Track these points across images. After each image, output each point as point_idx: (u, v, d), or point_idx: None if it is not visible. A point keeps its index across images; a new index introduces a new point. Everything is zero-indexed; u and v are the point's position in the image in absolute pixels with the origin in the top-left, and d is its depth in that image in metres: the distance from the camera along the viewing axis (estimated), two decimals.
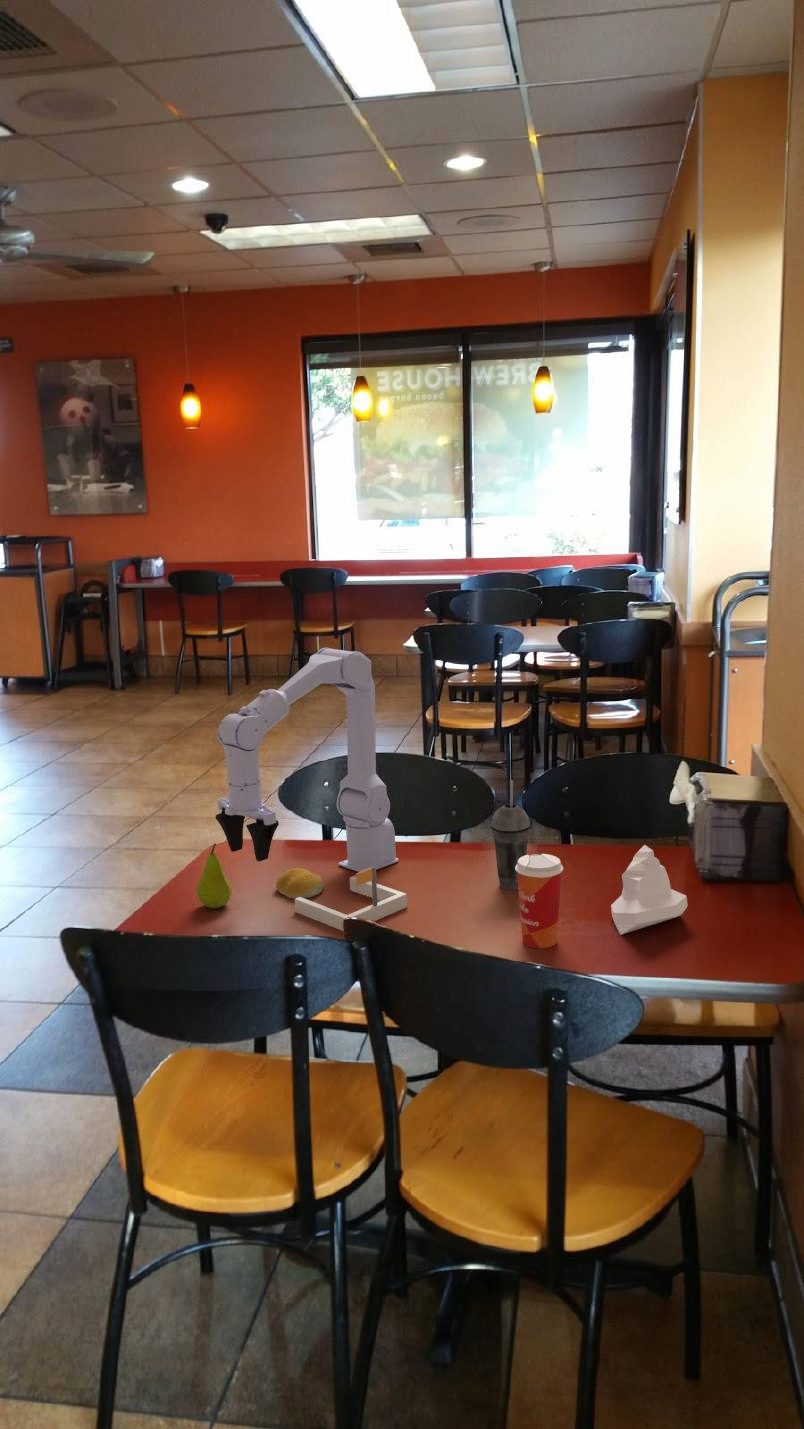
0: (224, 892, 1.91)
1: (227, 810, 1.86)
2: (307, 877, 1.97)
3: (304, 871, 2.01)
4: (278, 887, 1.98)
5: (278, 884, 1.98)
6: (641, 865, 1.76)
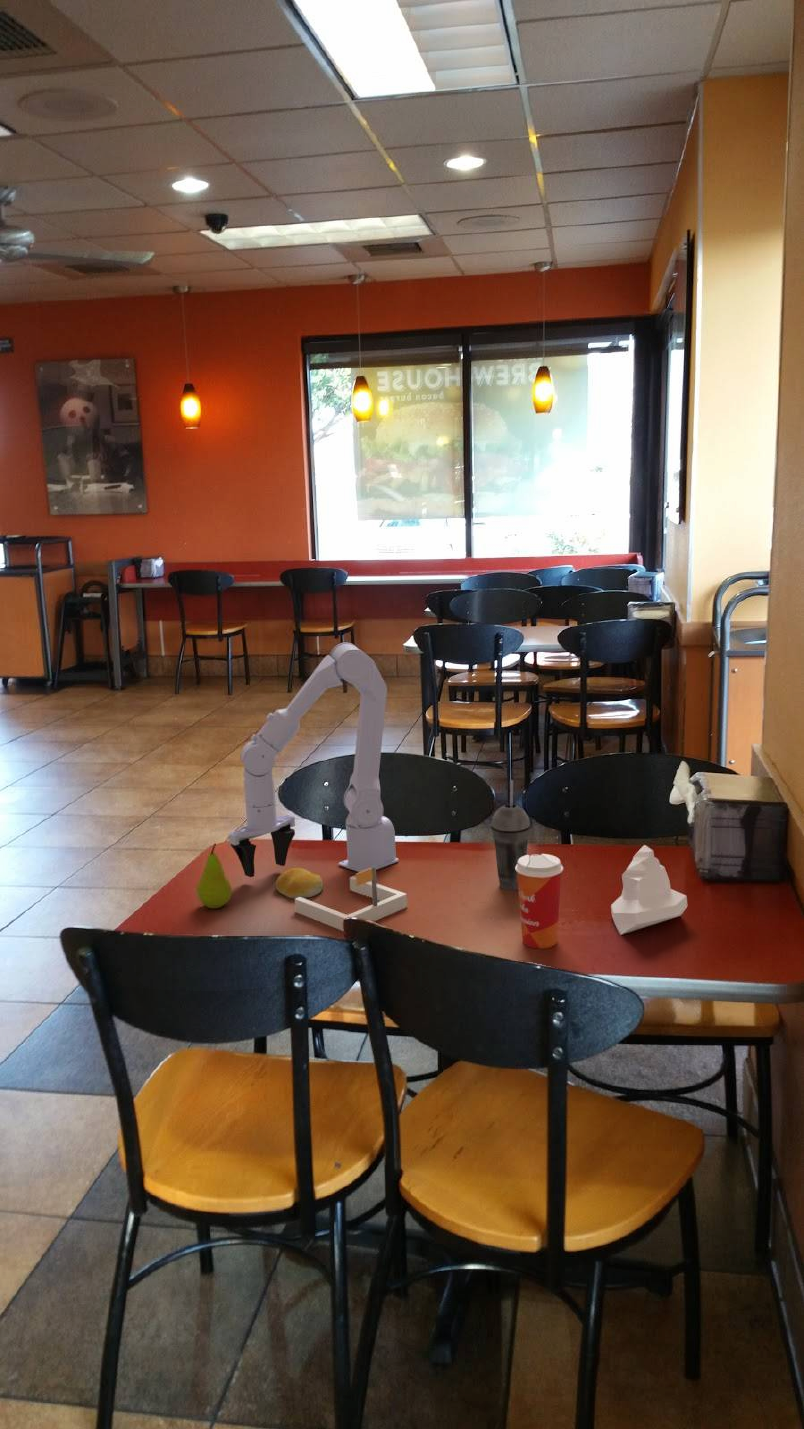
0: (224, 892, 1.91)
1: None
2: (306, 877, 1.97)
3: (303, 871, 2.01)
4: (278, 887, 1.98)
5: (278, 884, 1.98)
6: (641, 865, 1.76)
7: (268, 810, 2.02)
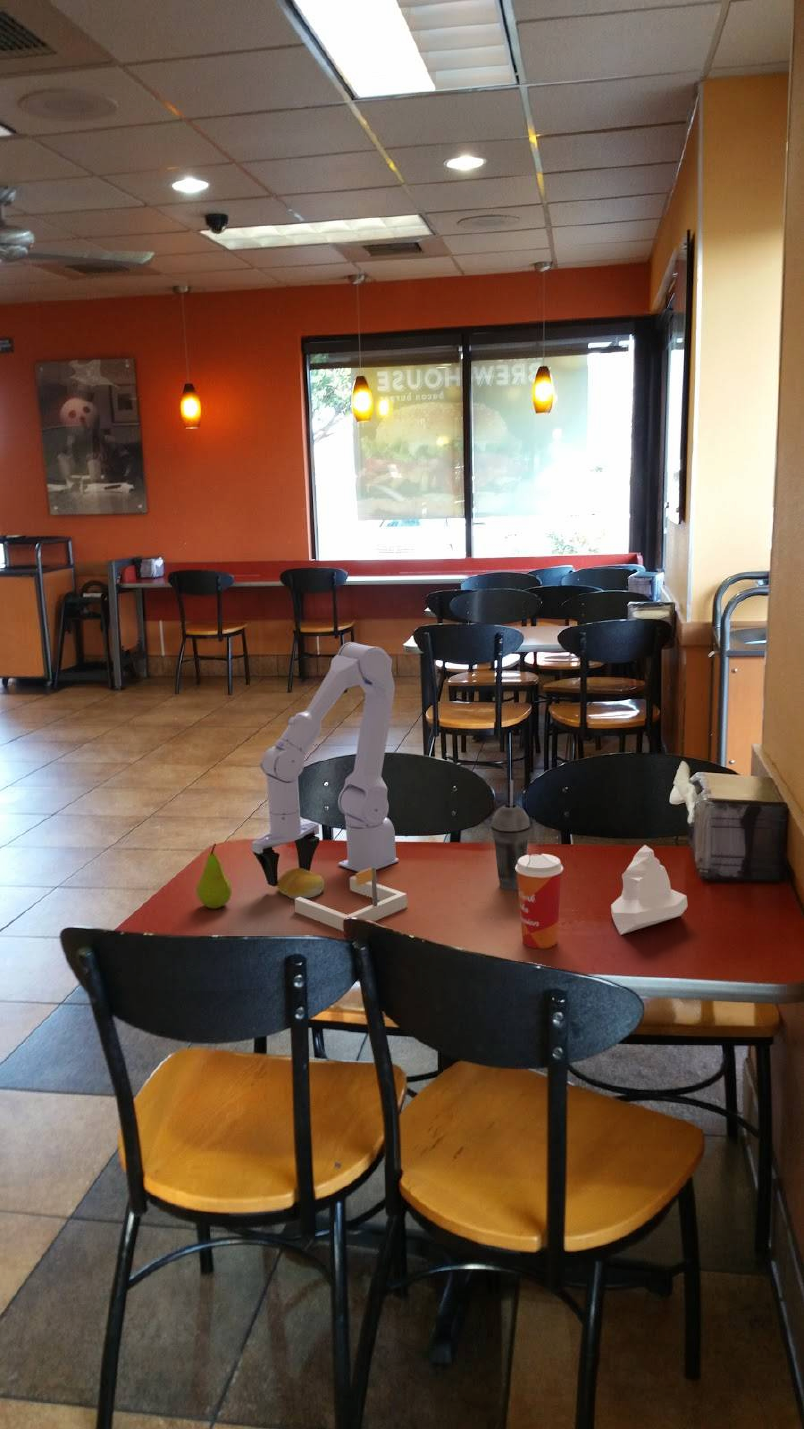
0: (224, 892, 1.91)
1: None
2: (308, 877, 1.97)
3: (305, 871, 2.00)
4: (279, 887, 1.98)
5: (279, 884, 1.98)
6: (641, 865, 1.76)
7: (292, 817, 1.97)
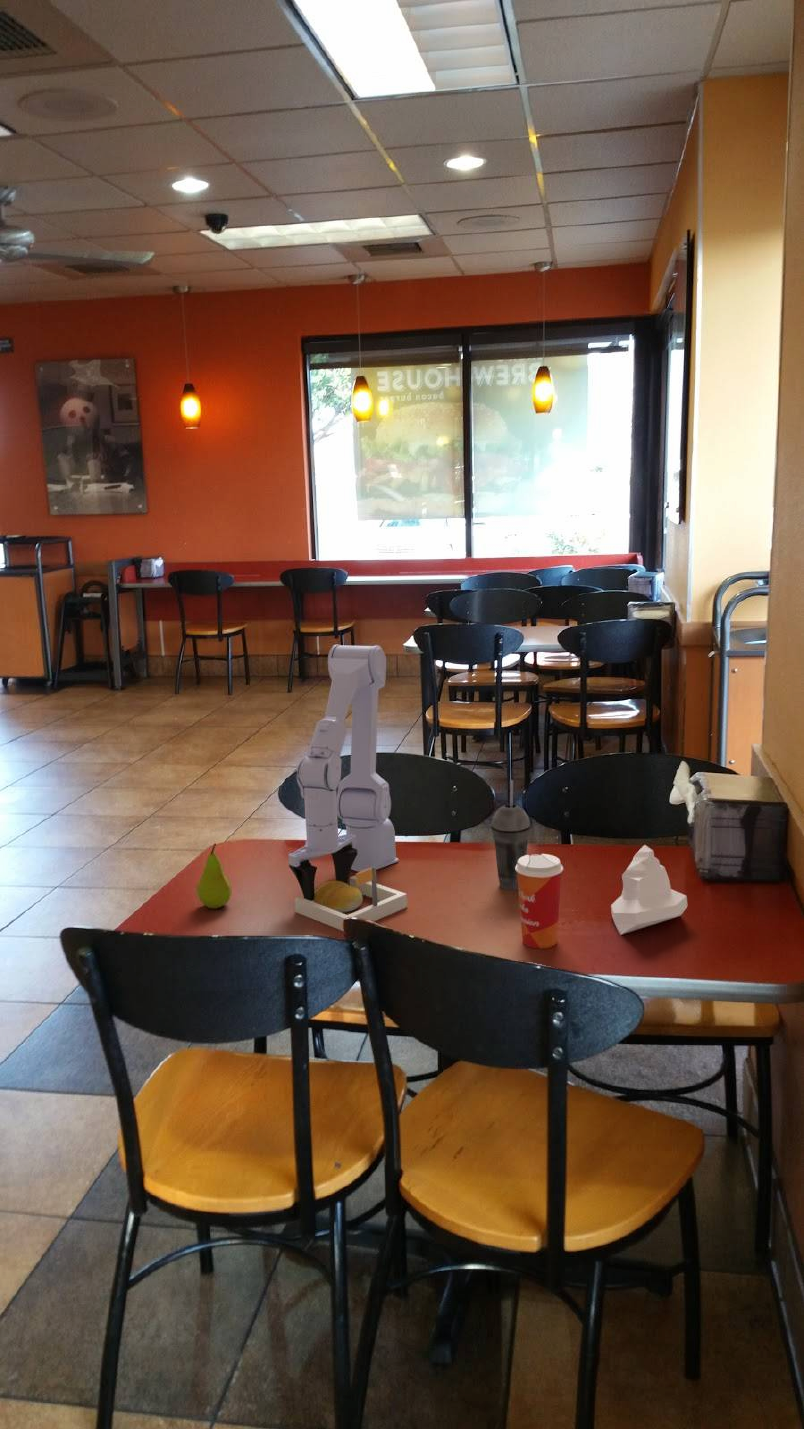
0: (224, 892, 1.91)
1: None
2: (346, 890, 1.89)
3: (342, 884, 1.93)
4: (316, 900, 1.90)
5: (316, 897, 1.91)
6: (641, 865, 1.76)
7: (330, 829, 1.89)
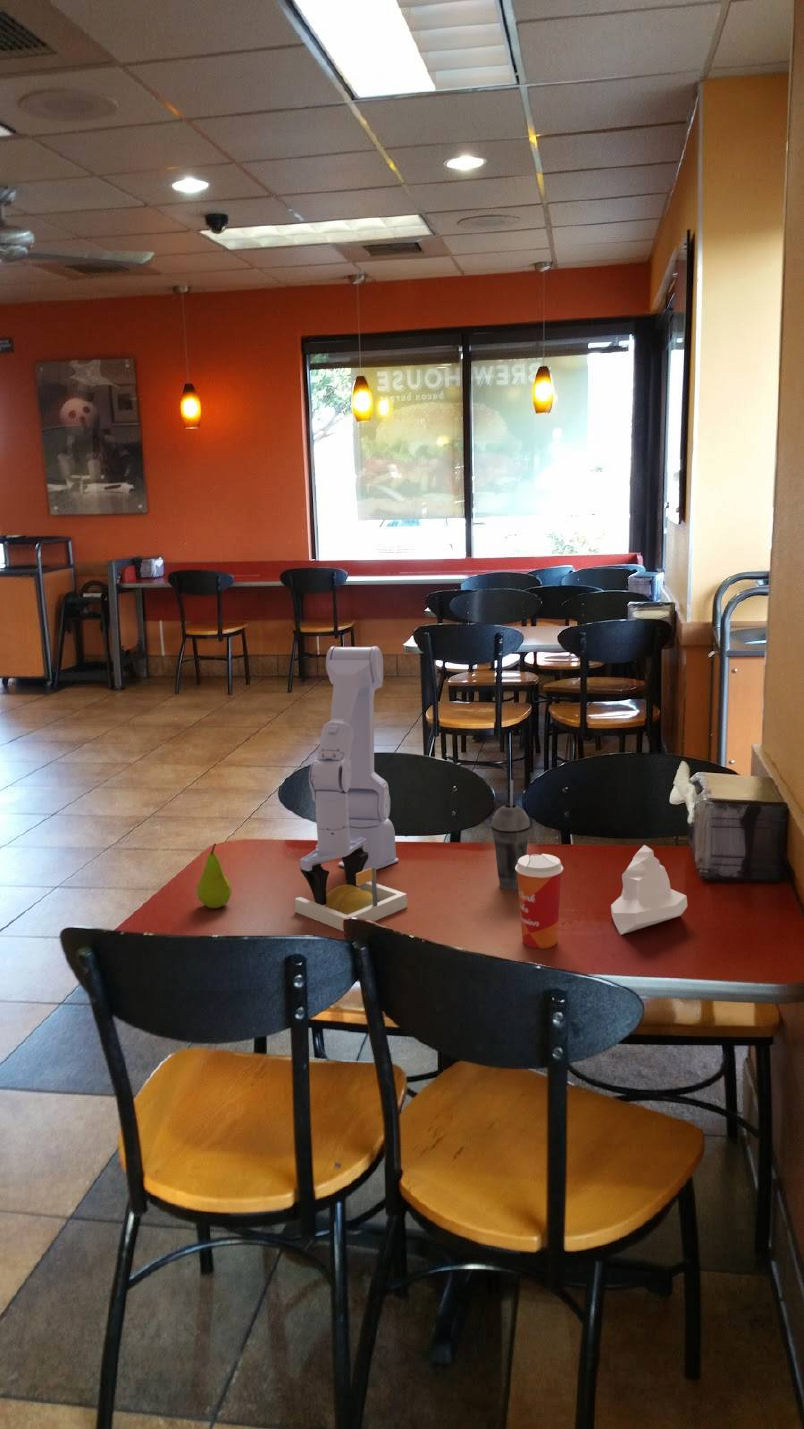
0: (224, 892, 1.91)
1: None
2: (358, 894, 1.87)
3: (353, 888, 1.91)
4: (327, 905, 1.88)
5: (327, 902, 1.88)
6: (641, 865, 1.76)
7: (342, 833, 1.87)
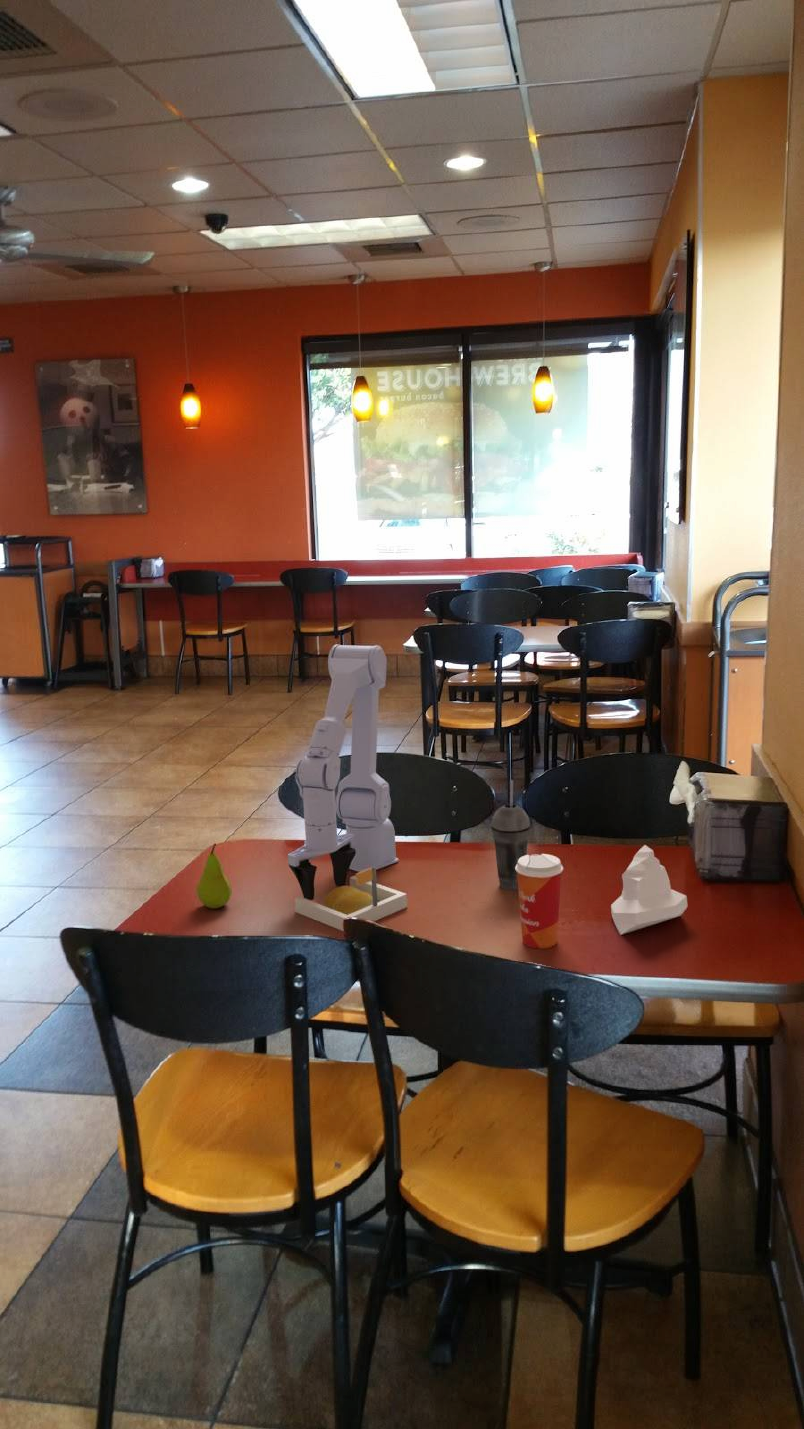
0: (224, 892, 1.91)
1: None
2: (358, 895, 1.88)
3: (353, 889, 1.91)
4: (327, 906, 1.88)
5: (327, 903, 1.89)
6: (641, 865, 1.76)
7: (329, 829, 1.90)
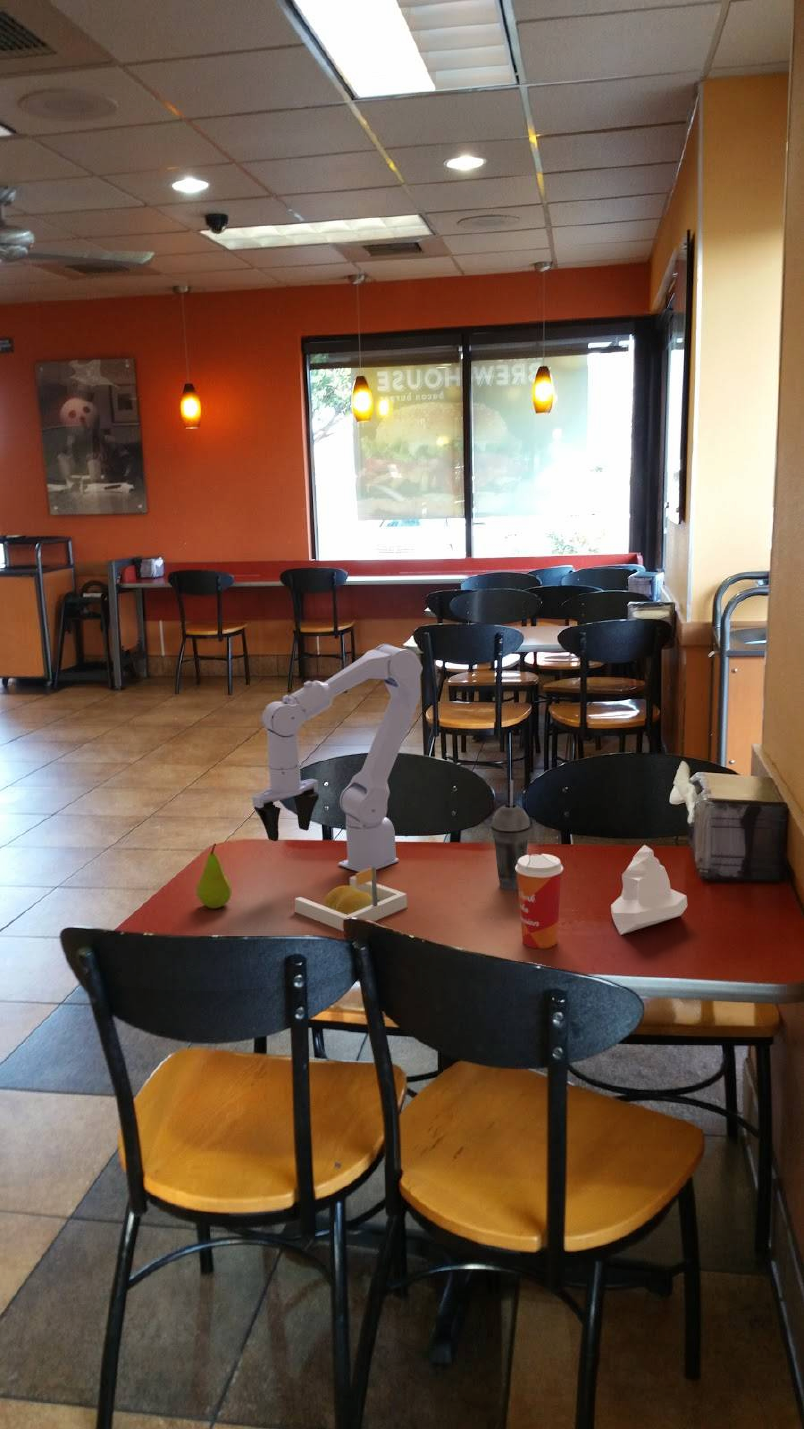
0: (224, 892, 1.91)
1: None
2: (358, 895, 1.88)
3: (352, 889, 1.91)
4: (327, 906, 1.89)
5: (327, 903, 1.89)
6: (641, 865, 1.76)
7: (292, 772, 1.98)
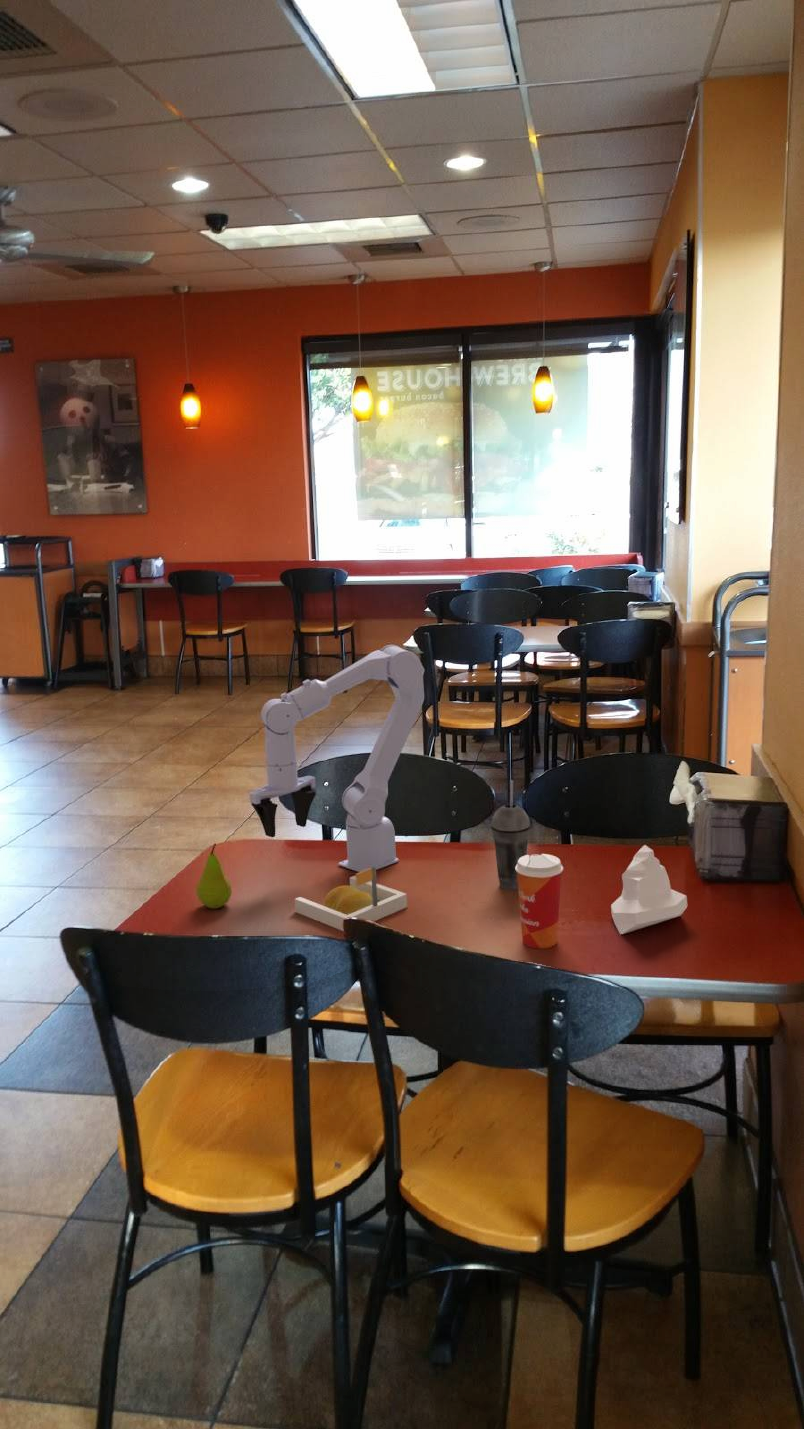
0: (224, 892, 1.91)
1: None
2: (357, 895, 1.88)
3: (352, 889, 1.91)
4: (326, 906, 1.89)
5: (326, 903, 1.89)
6: (641, 865, 1.76)
7: (289, 769, 2.00)
